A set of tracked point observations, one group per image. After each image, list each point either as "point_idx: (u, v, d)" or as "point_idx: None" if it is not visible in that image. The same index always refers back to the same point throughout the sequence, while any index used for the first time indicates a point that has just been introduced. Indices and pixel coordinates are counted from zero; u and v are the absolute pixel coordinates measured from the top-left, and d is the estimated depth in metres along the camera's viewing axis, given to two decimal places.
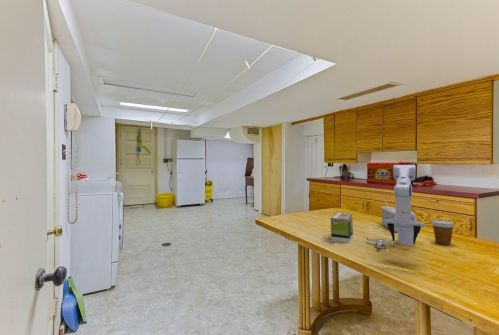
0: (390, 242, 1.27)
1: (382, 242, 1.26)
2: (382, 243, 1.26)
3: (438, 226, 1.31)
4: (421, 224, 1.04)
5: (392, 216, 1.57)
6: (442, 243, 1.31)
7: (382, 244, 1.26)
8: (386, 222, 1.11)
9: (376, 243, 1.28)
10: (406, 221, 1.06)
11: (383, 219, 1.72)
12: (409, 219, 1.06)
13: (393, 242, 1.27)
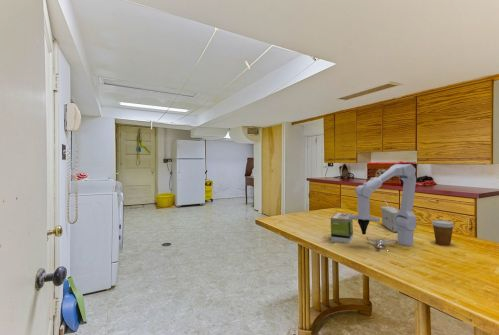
0: (390, 242, 1.27)
1: (382, 242, 1.26)
2: (382, 243, 1.26)
3: (438, 226, 1.31)
4: (377, 219, 1.24)
5: (392, 216, 1.57)
6: (442, 243, 1.31)
7: (382, 244, 1.26)
8: (350, 217, 1.31)
9: (376, 243, 1.28)
10: (365, 216, 1.26)
11: (383, 219, 1.72)
12: (367, 215, 1.26)
13: (393, 242, 1.27)
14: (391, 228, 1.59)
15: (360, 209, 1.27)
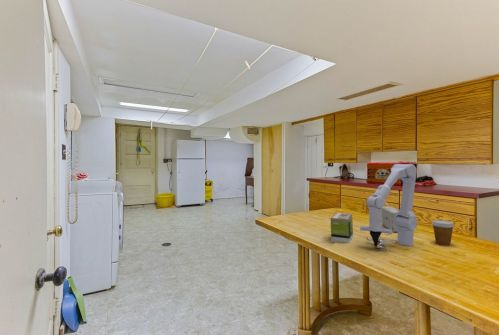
0: (390, 242, 1.27)
1: (382, 242, 1.26)
2: (382, 243, 1.26)
3: (438, 226, 1.31)
4: (390, 231, 1.21)
5: (392, 216, 1.57)
6: (442, 243, 1.31)
7: (382, 244, 1.26)
8: (361, 229, 1.28)
9: None
10: (377, 228, 1.23)
11: (383, 219, 1.72)
12: (380, 226, 1.23)
13: (393, 242, 1.27)
14: (391, 228, 1.59)
15: (372, 221, 1.24)
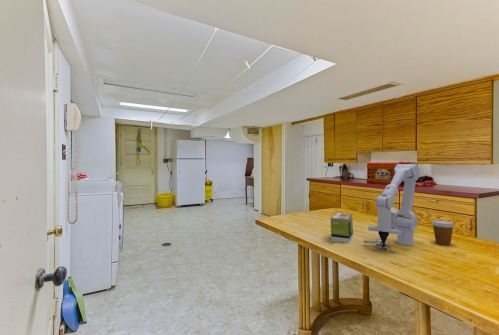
0: None
1: None
2: None
3: (438, 226, 1.31)
4: (399, 231, 1.19)
5: (392, 216, 1.57)
6: (442, 243, 1.31)
7: None
8: (369, 229, 1.26)
9: (379, 244, 1.27)
10: (386, 228, 1.20)
11: None
12: (389, 227, 1.20)
13: None
14: (391, 228, 1.59)
15: (381, 221, 1.21)
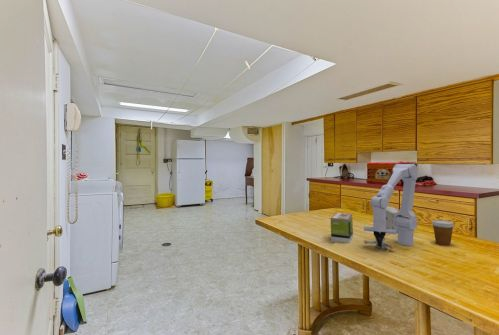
0: (383, 239, 1.32)
1: None
2: None
3: (438, 226, 1.31)
4: (394, 231, 1.20)
5: (392, 216, 1.57)
6: (442, 243, 1.31)
7: None
8: (365, 229, 1.27)
9: None
10: (381, 228, 1.22)
11: None
12: (384, 227, 1.22)
13: (384, 239, 1.33)
14: (391, 228, 1.59)
15: (376, 221, 1.23)
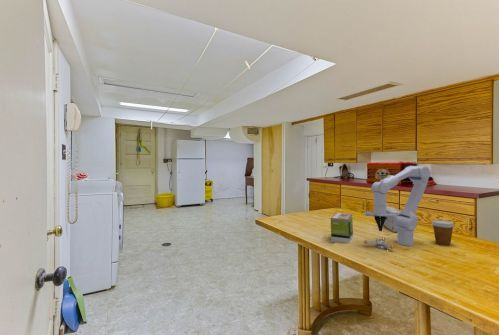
0: (383, 239, 1.32)
1: None
2: None
3: (438, 226, 1.31)
4: (394, 215, 1.24)
5: None
6: (442, 243, 1.31)
7: None
8: (366, 214, 1.31)
9: (379, 244, 1.26)
10: (382, 213, 1.25)
11: None
12: (384, 211, 1.26)
13: (384, 239, 1.33)
14: (391, 228, 1.59)
15: (377, 206, 1.27)
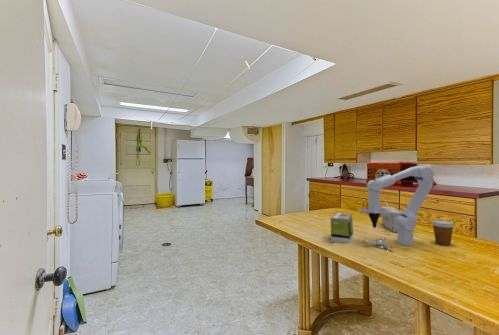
0: (383, 239, 1.32)
1: None
2: None
3: (438, 226, 1.31)
4: (387, 212, 1.29)
5: (392, 216, 1.57)
6: (442, 243, 1.31)
7: None
8: (361, 211, 1.36)
9: (379, 244, 1.26)
10: (376, 210, 1.31)
11: (383, 219, 1.72)
12: (378, 208, 1.31)
13: (384, 239, 1.33)
14: (391, 228, 1.59)
15: (371, 203, 1.32)
